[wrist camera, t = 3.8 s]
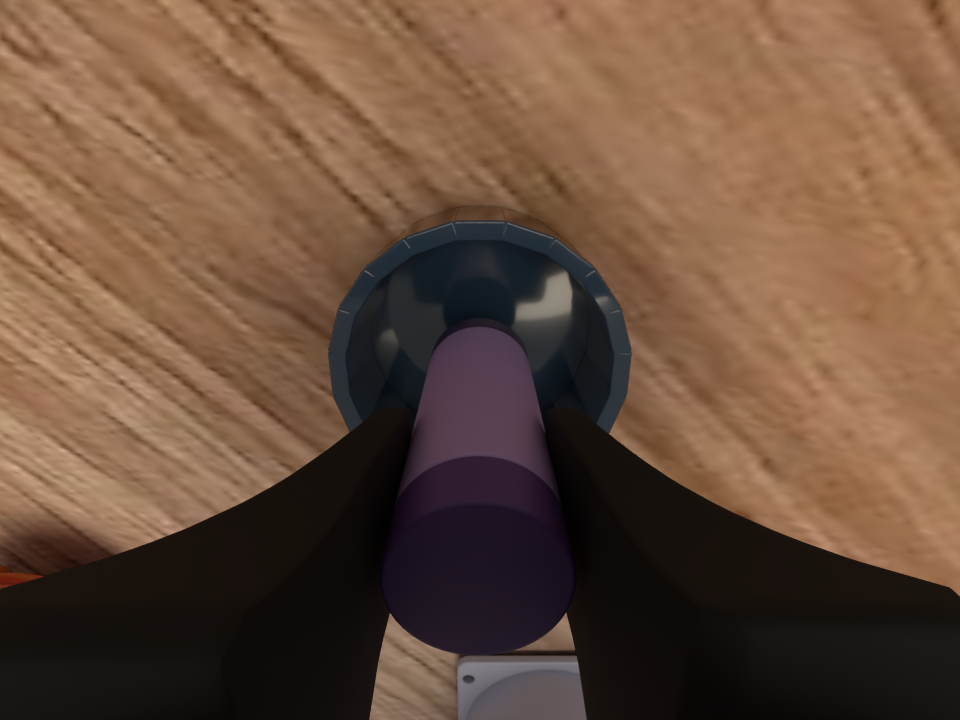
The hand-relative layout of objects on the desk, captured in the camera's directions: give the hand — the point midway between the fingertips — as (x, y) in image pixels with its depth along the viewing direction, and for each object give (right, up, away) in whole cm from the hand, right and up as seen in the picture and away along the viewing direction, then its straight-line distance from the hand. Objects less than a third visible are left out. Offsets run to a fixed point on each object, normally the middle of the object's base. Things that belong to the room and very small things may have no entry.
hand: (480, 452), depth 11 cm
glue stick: (0, +2, +5) cm, 5 cm away
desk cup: (0, +3, +8) cm, 8 cm away
